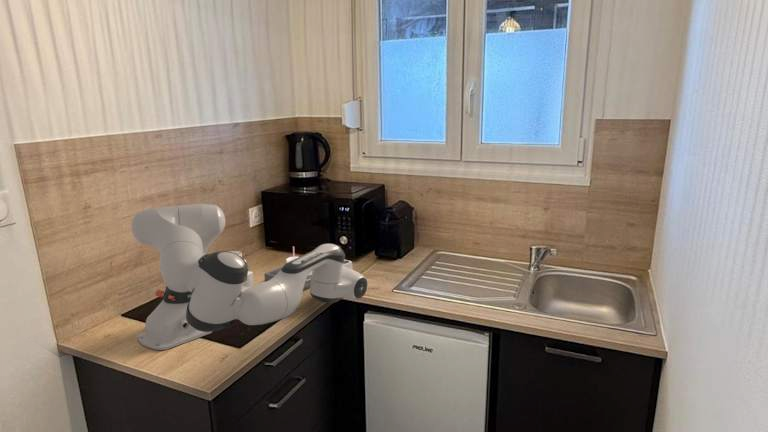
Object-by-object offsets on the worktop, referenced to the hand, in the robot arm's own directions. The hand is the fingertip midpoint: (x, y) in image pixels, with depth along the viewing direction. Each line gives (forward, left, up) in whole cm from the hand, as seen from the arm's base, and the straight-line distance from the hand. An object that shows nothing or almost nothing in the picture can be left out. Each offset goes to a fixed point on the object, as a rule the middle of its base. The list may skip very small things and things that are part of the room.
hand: (310, 265), depth 175 cm
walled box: (+3, +11, -10) cm, 15 cm away
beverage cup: (+3, +11, -10) cm, 15 cm away
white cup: (-6, +36, -11) cm, 38 cm away
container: (-15, +22, -11) cm, 29 cm away
